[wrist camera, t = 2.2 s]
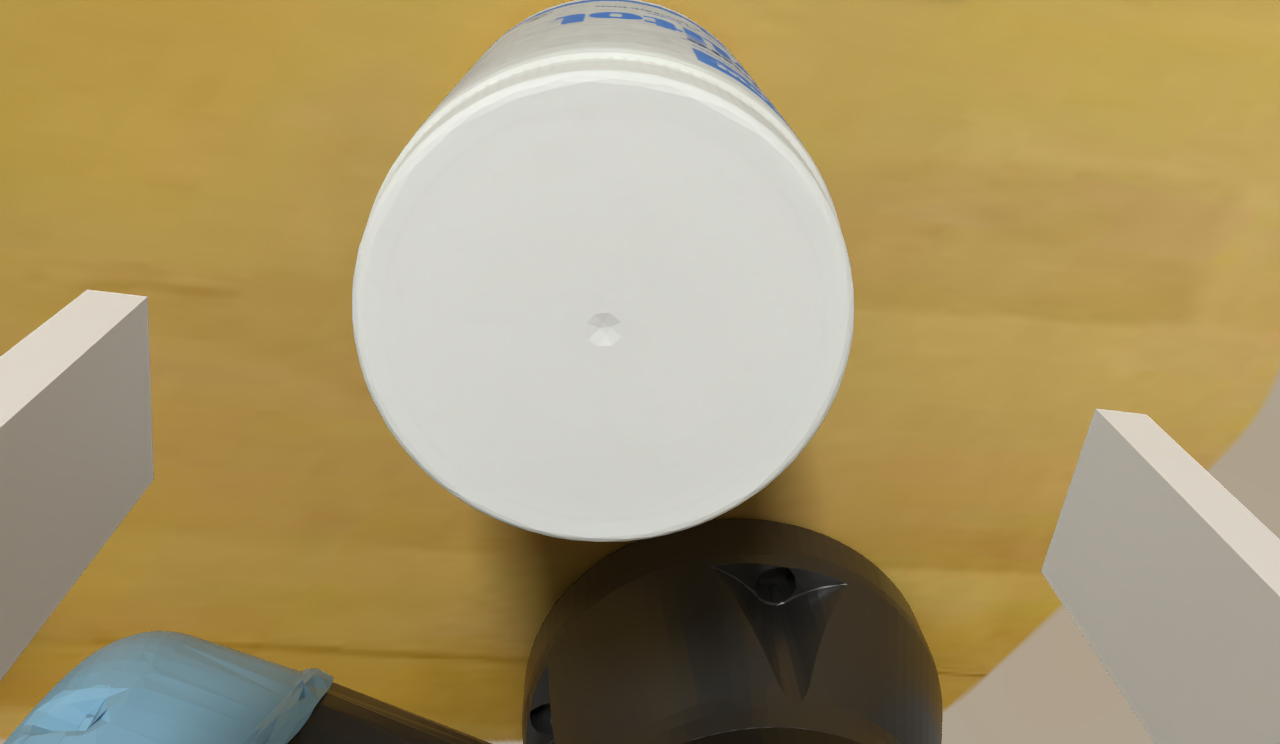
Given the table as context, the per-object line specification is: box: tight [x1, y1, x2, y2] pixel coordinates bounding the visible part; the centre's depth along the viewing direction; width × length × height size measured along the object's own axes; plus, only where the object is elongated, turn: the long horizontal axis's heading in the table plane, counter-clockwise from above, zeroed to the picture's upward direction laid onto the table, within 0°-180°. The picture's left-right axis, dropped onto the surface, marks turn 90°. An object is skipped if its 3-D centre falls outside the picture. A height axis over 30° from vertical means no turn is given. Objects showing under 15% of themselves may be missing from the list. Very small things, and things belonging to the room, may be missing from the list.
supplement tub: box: [352, 0, 854, 542], centre depth 27 cm, size 10×10×15 cm
